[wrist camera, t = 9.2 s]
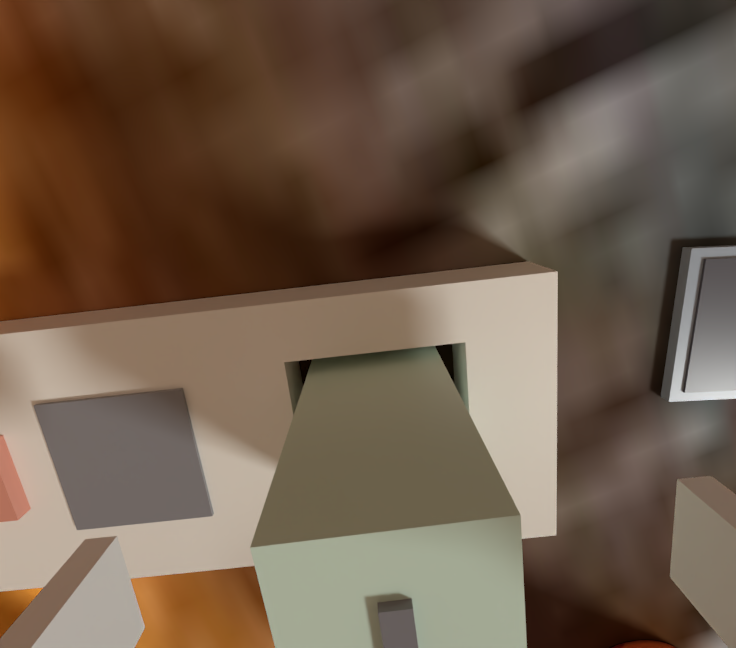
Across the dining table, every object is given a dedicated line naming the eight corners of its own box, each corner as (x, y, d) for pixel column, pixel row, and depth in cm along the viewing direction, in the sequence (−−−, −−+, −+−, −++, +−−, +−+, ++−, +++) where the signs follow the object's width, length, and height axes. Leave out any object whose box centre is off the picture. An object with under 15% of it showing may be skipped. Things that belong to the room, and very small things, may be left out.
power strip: (531, 492, 19) (563, 547, 16) (31, 544, 19) (-30, 607, 16) (528, 261, 16) (566, 274, 13) (-53, 327, 16) (-146, 354, 13)
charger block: (440, 438, 18) (533, 723, 8) (332, 452, 18) (296, 749, 8) (429, 335, 17) (525, 523, 7) (314, 350, 17) (246, 557, 7)
